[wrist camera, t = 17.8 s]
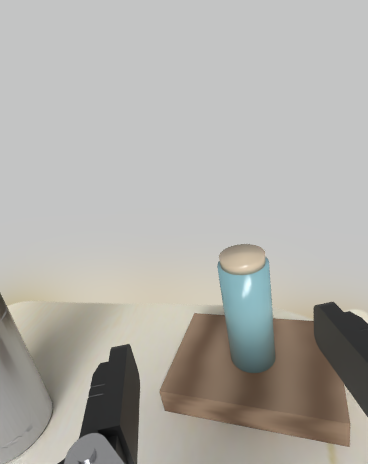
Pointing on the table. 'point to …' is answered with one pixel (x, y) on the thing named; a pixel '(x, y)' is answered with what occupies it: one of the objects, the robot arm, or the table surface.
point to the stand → (259, 383)
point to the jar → (247, 307)
